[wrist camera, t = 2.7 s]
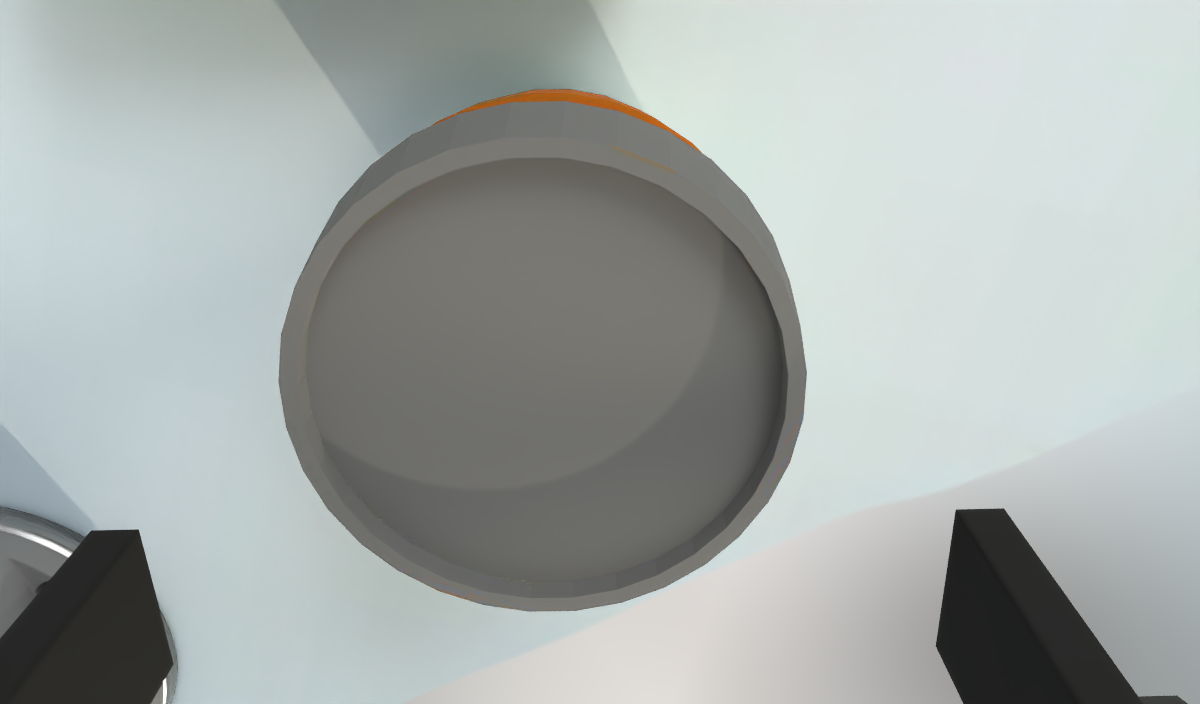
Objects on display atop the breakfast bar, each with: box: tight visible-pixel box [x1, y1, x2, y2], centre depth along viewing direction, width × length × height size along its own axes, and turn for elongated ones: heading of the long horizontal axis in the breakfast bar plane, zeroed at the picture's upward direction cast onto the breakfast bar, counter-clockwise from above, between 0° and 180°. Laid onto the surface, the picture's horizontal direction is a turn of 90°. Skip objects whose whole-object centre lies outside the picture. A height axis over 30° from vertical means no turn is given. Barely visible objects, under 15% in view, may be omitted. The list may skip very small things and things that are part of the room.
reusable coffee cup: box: [279, 89, 807, 611], centre depth 29 cm, size 13×13×15 cm
